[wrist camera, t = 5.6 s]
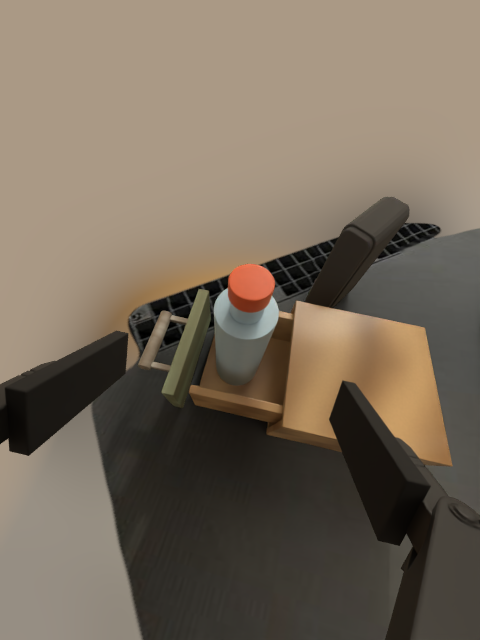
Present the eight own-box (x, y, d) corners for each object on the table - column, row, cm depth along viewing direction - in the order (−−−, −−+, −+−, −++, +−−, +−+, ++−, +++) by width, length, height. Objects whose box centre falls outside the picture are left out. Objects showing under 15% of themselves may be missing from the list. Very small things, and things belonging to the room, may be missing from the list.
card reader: (333, 274, 41) (386, 188, 28) (353, 289, 40) (418, 206, 26) (299, 304, 37) (341, 222, 24) (319, 321, 36) (375, 244, 23)
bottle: (230, 339, 31) (239, 241, 17) (264, 359, 30) (302, 273, 16) (208, 371, 29) (196, 289, 15) (243, 394, 28) (267, 329, 14)
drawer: (138, 397, 28) (116, 382, 22) (173, 311, 34) (164, 281, 28) (287, 432, 27) (305, 426, 22) (296, 337, 33) (312, 312, 28)
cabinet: (266, 434, 28) (282, 426, 21) (280, 333, 35) (296, 300, 27) (390, 463, 27) (452, 466, 20) (381, 355, 34) (424, 327, 27)
